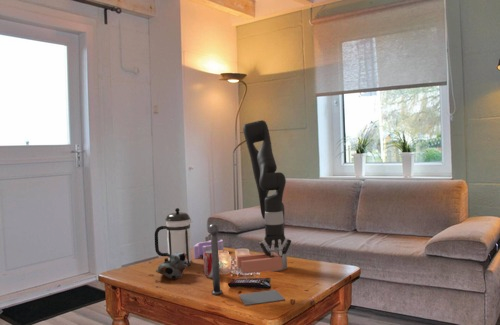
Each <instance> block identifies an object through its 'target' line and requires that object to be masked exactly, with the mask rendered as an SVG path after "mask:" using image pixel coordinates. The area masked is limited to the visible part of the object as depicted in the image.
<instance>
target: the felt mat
mask: <svg viewBox="0 0 500 325" xmlns="http://www.w3.org/2000/svg"><path fill="white" fill-rule="evenodd" d="M238 297H239V299H240V300H241V301H242V303H243V304H244V306H246V307H247V306H253V305H260V304H268V303H274V302H275V303H276V302H283V301H285V300H286V299H285V298H284V296H282V295H281V293H280V292H279V291H278V290H277V289H273V290H272V289H271V290H265V291H256V292H248V293H241V294H238Z"/></svg>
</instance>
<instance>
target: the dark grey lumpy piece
mask: <svg viewBox="0 0 500 325" xmlns="http://www.w3.org/2000/svg"><path fill="white" fill-rule="evenodd" d="M163 260H164V262H163V263H160V264H159V266H158V267H157V269H156V270H155V272H156V273H157V274H161V275H162V276H165V277H167V278H169V279H173V280H174V281H177V280H178V279H181V278H183V273H184V271H185V270H186V268H187V267H188V266H187V263H188V262H187V261H188V260H187V254H185V253H175V254H173V255H172V256H171V257H170V260H169V259H168V257H165V258H164V259H163Z"/></svg>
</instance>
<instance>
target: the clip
mask: <svg viewBox="0 0 500 325" xmlns="http://www.w3.org/2000/svg"><path fill="white" fill-rule="evenodd" d="M192 247H193V248H192V249H193V259H199V258H201V257H200V256H203V260H204V254H205V251H207V250H211V239H209V240H207V241H201V242H198V243H195V245H193V246H192ZM218 250H223V251H224V240H223V239H219V240H218Z"/></svg>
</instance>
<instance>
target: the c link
mask: <svg viewBox="0 0 500 325" xmlns="http://www.w3.org/2000/svg"><path fill="white" fill-rule="evenodd" d="M236 261H237V262H236V267H237V269H241V273H242V274H243V275H245V274H251V273H260V272H261V273H263V272H269V271H271V270H280V269H283V267H282V257H280V256H279V255H278V254H277V253H275V252H274V255H273V257H271V258H270V257H269V256H267V255H266V254H265V253H264V252H263V253H253V254H252V253H251V254H244V255H237V256H236ZM271 272H272V271H271Z"/></svg>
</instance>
